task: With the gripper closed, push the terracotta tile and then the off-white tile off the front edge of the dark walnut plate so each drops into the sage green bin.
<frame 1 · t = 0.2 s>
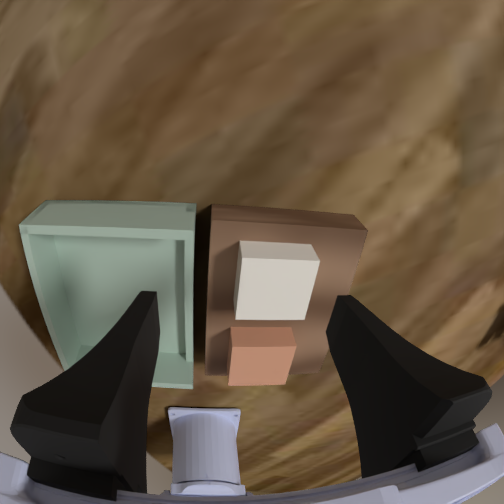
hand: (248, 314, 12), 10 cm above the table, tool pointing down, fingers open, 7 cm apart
green bin: (123, 287, 23), on the table
terracotta tile: (257, 348, 24), point 2 cm above the table, touching walnut plate
walnut plate: (272, 293, 25), on the table
white tile: (271, 273, 21), point 2 cm above the table, touching walnut plate
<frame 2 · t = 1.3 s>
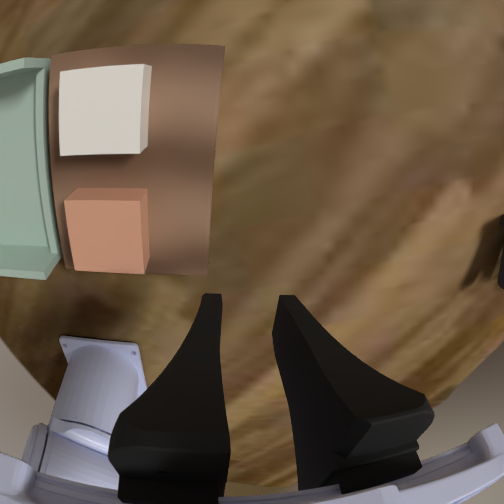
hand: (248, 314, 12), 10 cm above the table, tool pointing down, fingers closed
terracotta tile: (113, 223, 18), point 2 cm above the table, touching walnut plate
walnut plate: (136, 157, 19), on the table
white tile: (109, 107, 15), point 2 cm above the table, touching walnut plate
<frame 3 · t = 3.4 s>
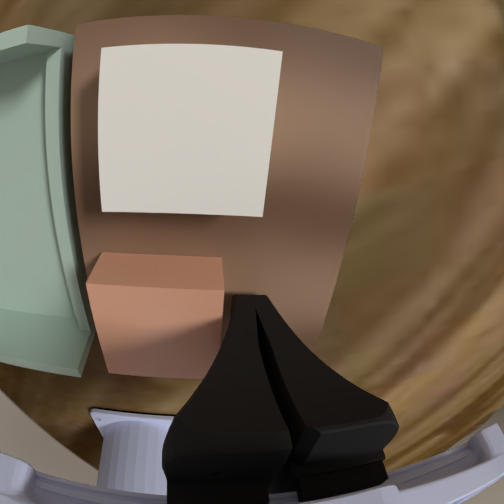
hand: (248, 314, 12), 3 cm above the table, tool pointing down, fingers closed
terracotta tile: (162, 303, 12), point 3 cm above the table
walnut plate: (214, 199, 13), on the table
white tile: (189, 121, 9), point 2 cm above the table, touching walnut plate
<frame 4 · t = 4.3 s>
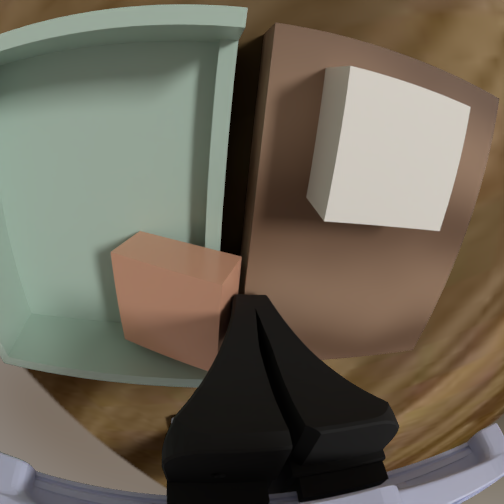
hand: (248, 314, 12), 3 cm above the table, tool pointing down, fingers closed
green bin: (95, 197, 12), on the table
terracotta tile: (187, 289, 13), point 1 cm above the table, tilted 23°, touching green bin, gripper
walnut plate: (354, 210, 14), on the table
white tile: (376, 143, 10), point 2 cm above the table, touching walnut plate
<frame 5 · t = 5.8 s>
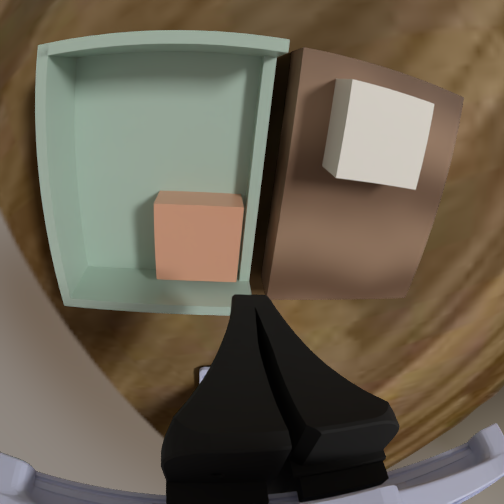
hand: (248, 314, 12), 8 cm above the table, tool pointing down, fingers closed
green bin: (159, 166, 17), on the table
terracotta tile: (198, 228, 18), point 1 cm above the table, touching green bin
walnut plate: (355, 181, 19), on the table
white tile: (369, 130, 15), point 2 cm above the table, touching walnut plate
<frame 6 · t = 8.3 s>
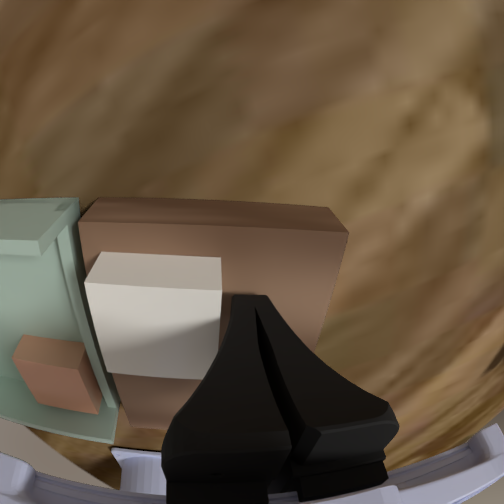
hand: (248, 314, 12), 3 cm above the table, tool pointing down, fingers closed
green bin: (19, 312, 15), on the table
terracotta tile: (63, 364, 16), point 1 cm above the table, touching green bin
walnut plate: (208, 327, 17), on the table
white tile: (161, 303, 12), point 3 cm above the table, touching walnut plate
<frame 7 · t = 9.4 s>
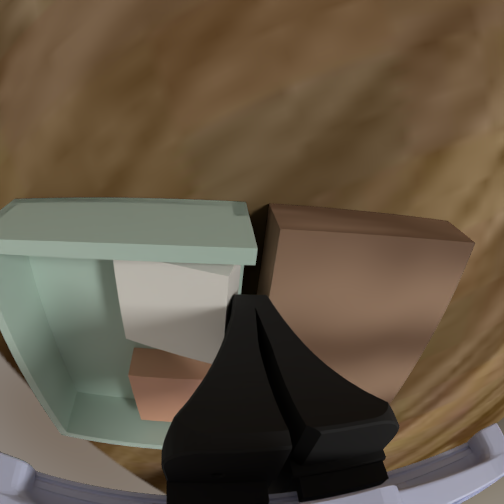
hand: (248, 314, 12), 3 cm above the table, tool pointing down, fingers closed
green bin: (131, 323, 16), on the table
terracotta tile: (176, 375, 17), point 1 cm above the table, touching green bin
walnut plate: (338, 325, 18), on the table
white tile: (186, 285, 14), point 1 cm above the table, tilted 18°, touching green bin, gripper
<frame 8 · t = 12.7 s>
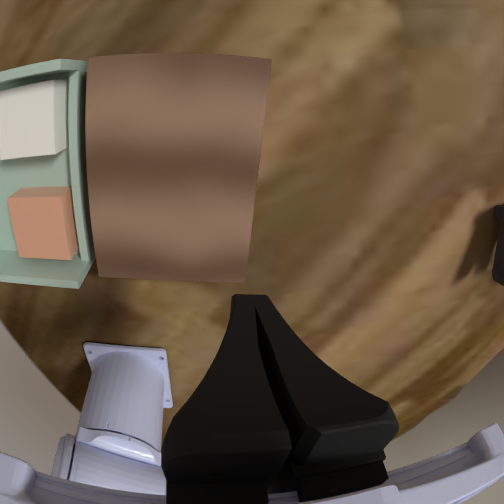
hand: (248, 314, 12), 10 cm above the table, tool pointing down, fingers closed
green bin: (22, 168, 18), on the table
terracotta tile: (49, 216, 19), point 1 cm above the table, touching green bin
walnut plate: (174, 165, 19), on the table
white tile: (39, 116, 16), point 1 cm above the table, touching green bin
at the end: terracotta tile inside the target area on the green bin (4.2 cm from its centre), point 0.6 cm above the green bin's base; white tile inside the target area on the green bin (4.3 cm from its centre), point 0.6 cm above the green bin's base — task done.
